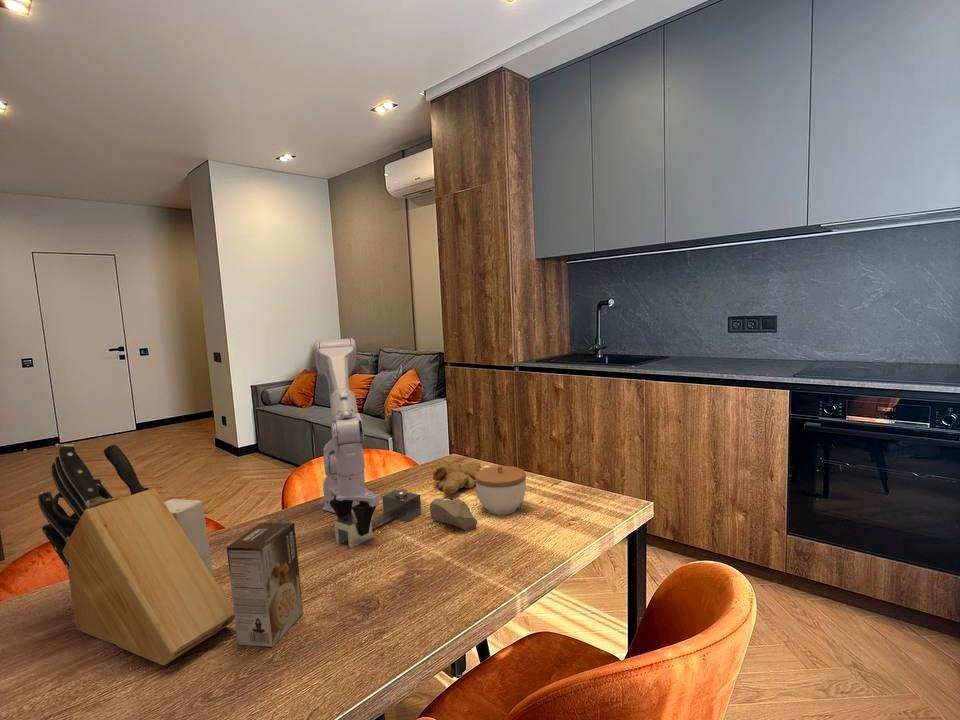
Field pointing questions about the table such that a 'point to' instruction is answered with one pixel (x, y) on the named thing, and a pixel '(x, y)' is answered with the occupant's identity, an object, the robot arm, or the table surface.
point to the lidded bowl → (501, 488)
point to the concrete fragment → (453, 513)
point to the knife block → (130, 563)
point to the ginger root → (455, 476)
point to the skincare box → (192, 525)
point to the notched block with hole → (350, 531)
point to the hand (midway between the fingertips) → (355, 531)
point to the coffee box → (265, 583)
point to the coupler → (399, 507)
